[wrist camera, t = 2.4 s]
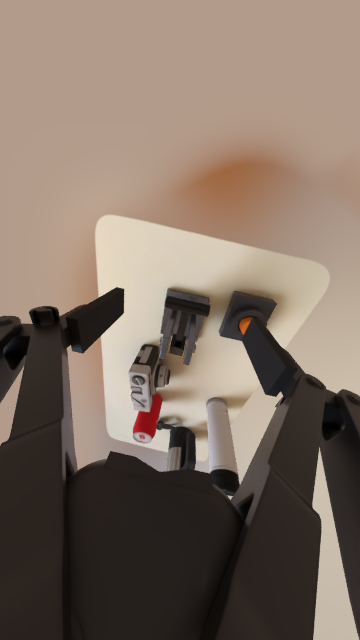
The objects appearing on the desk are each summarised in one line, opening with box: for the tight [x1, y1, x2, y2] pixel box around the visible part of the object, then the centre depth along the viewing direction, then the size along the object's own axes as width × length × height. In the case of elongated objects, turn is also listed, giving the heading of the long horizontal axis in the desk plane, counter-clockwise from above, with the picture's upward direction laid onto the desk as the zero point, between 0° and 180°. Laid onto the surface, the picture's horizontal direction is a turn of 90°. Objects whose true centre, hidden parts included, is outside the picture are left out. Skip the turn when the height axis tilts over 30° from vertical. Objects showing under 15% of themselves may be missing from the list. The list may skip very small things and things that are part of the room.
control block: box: [219, 291, 277, 341], centre depth 32 cm, size 10×8×4 cm
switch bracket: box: [159, 289, 209, 365], centre depth 29 cm, size 11×9×13 cm
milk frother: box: [157, 421, 196, 471], centre depth 52 cm, size 14×16×15 cm
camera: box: [128, 345, 170, 412], centre depth 39 cm, size 14×8×10 cm, turn 177°
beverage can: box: [133, 393, 162, 443], centre depth 45 cm, size 6×6×12 cm
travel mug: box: [207, 398, 240, 496], centre depth 40 cm, size 6×7×20 cm
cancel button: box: [239, 317, 254, 335], centre depth 29 cm, size 4×4×2 cm
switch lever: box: [165, 295, 210, 356], centre depth 22 cm, size 12×5×2 cm, turn 169°
